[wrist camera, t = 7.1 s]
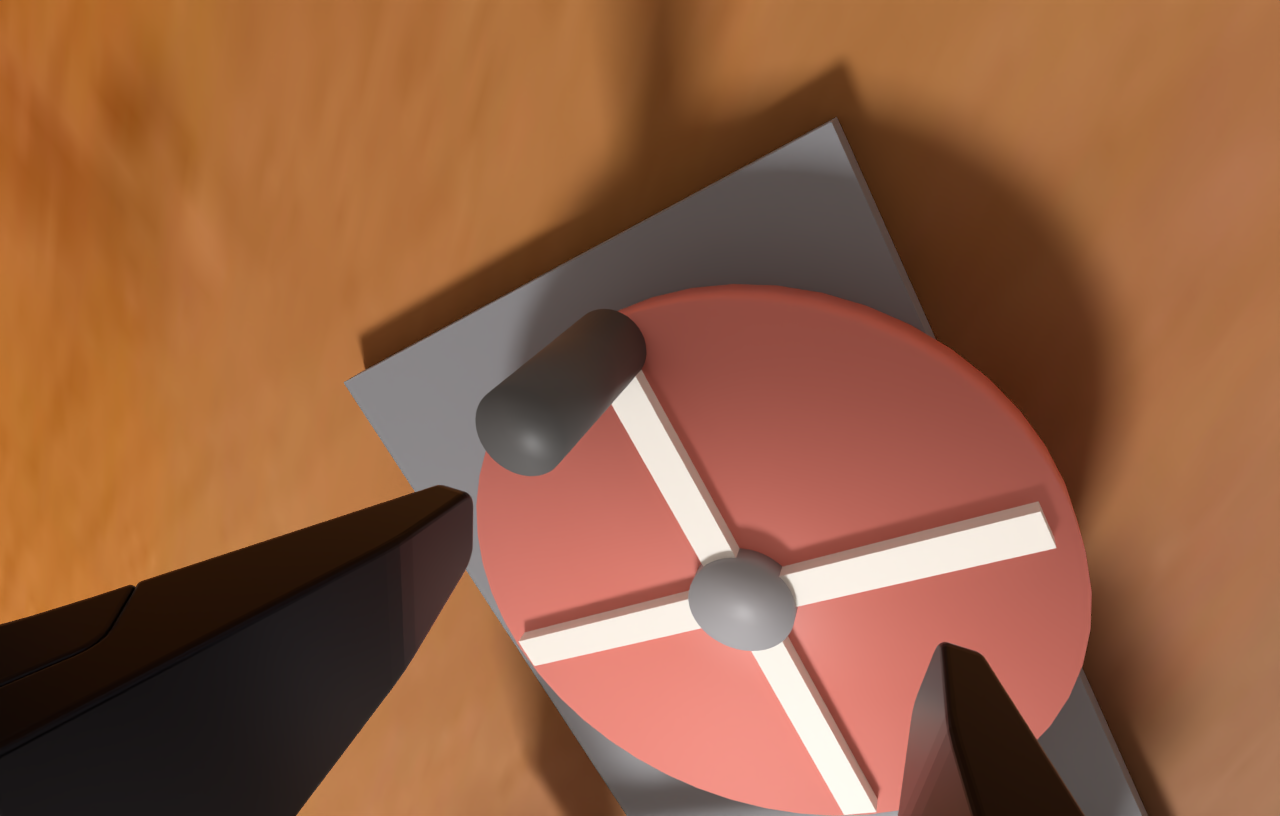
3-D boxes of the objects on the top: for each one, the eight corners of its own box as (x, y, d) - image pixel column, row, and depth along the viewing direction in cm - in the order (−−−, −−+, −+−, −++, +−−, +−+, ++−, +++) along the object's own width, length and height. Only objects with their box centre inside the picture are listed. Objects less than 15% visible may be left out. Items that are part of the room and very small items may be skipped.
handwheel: (921, 142, 15) (909, 197, 10) (1175, 745, 19) (1254, 992, 14) (396, 400, 22) (247, 503, 18) (653, 802, 26) (587, 977, 21)
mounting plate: (837, 116, 17) (781, 164, 12) (1202, 937, 23) (1288, 1243, 18) (364, 370, 25) (185, 476, 19) (731, 940, 31) (681, 1154, 25)
